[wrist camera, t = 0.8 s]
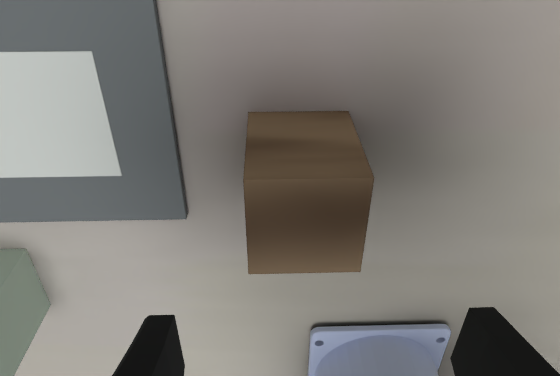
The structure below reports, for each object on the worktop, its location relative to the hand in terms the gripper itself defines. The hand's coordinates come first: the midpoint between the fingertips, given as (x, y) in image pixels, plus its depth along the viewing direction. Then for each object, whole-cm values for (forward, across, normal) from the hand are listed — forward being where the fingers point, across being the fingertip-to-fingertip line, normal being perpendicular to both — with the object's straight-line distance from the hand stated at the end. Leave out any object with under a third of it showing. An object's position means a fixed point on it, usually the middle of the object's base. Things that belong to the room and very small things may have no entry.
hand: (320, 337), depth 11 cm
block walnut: (+9, 0, 0) cm, 9 cm away
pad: (+9, +10, -2) cm, 14 cm away
